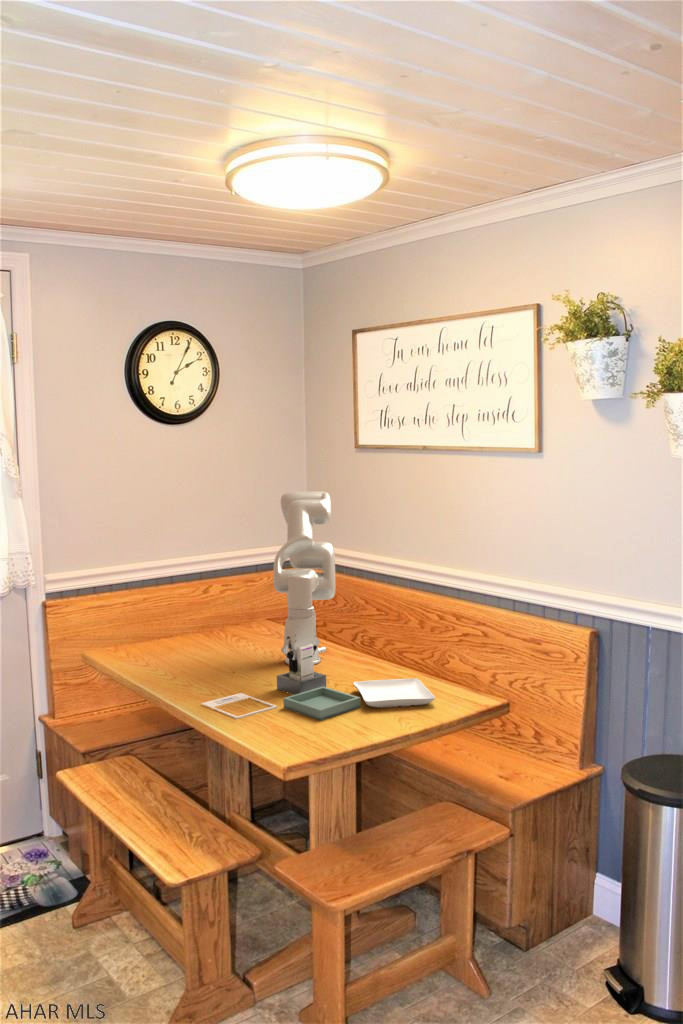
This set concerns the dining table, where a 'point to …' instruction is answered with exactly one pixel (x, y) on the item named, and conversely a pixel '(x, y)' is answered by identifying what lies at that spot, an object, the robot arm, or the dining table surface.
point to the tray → (322, 703)
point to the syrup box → (303, 664)
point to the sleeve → (300, 683)
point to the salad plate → (394, 692)
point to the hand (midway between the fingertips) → (301, 668)
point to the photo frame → (233, 699)
